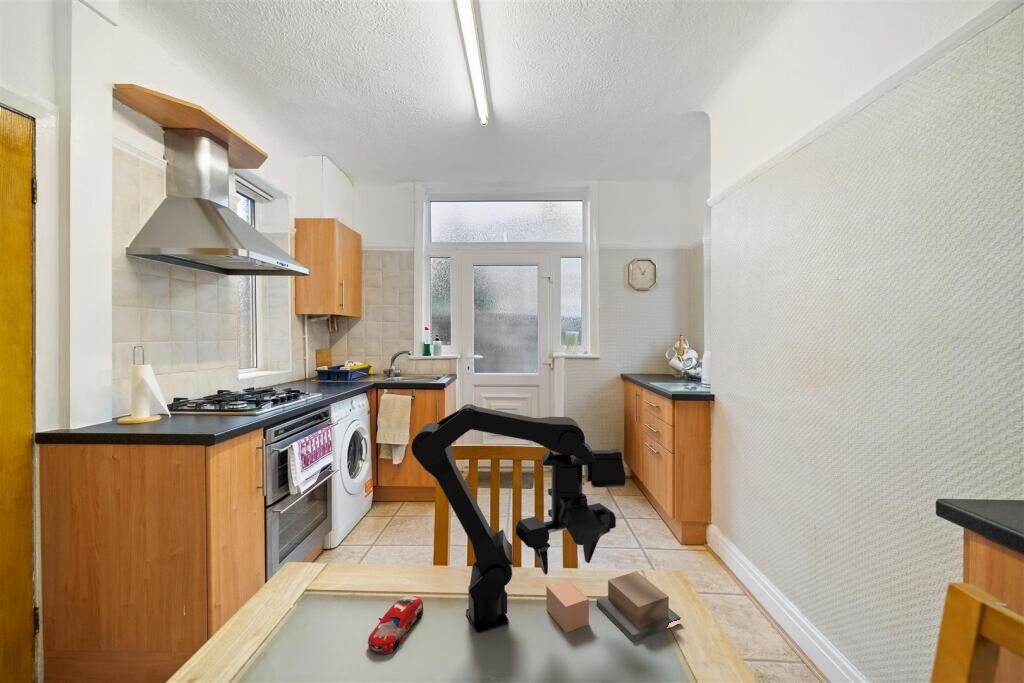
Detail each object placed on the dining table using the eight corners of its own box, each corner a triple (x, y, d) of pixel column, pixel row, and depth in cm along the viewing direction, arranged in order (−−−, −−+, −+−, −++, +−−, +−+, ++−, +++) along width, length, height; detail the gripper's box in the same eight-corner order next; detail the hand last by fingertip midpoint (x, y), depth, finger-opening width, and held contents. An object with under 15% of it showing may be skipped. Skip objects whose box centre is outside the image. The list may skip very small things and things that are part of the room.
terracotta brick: (565, 633, 83) (565, 606, 82) (546, 610, 89) (546, 585, 89) (588, 624, 85) (588, 599, 84) (568, 603, 91) (568, 579, 91)
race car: (389, 661, 77) (388, 639, 76) (361, 653, 78) (361, 631, 78) (428, 612, 89) (428, 592, 89) (404, 606, 91) (404, 587, 90)
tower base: (632, 641, 80) (632, 613, 80) (596, 605, 90) (596, 579, 90) (680, 623, 85) (681, 596, 84) (641, 590, 95) (641, 566, 94)
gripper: (542, 513, 74) (542, 606, 75) (635, 494, 82) (634, 578, 83) (514, 489, 84) (514, 571, 85) (599, 473, 92) (598, 549, 93)
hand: (566, 567), depth 86 cm, fingers open, 9 cm apart
